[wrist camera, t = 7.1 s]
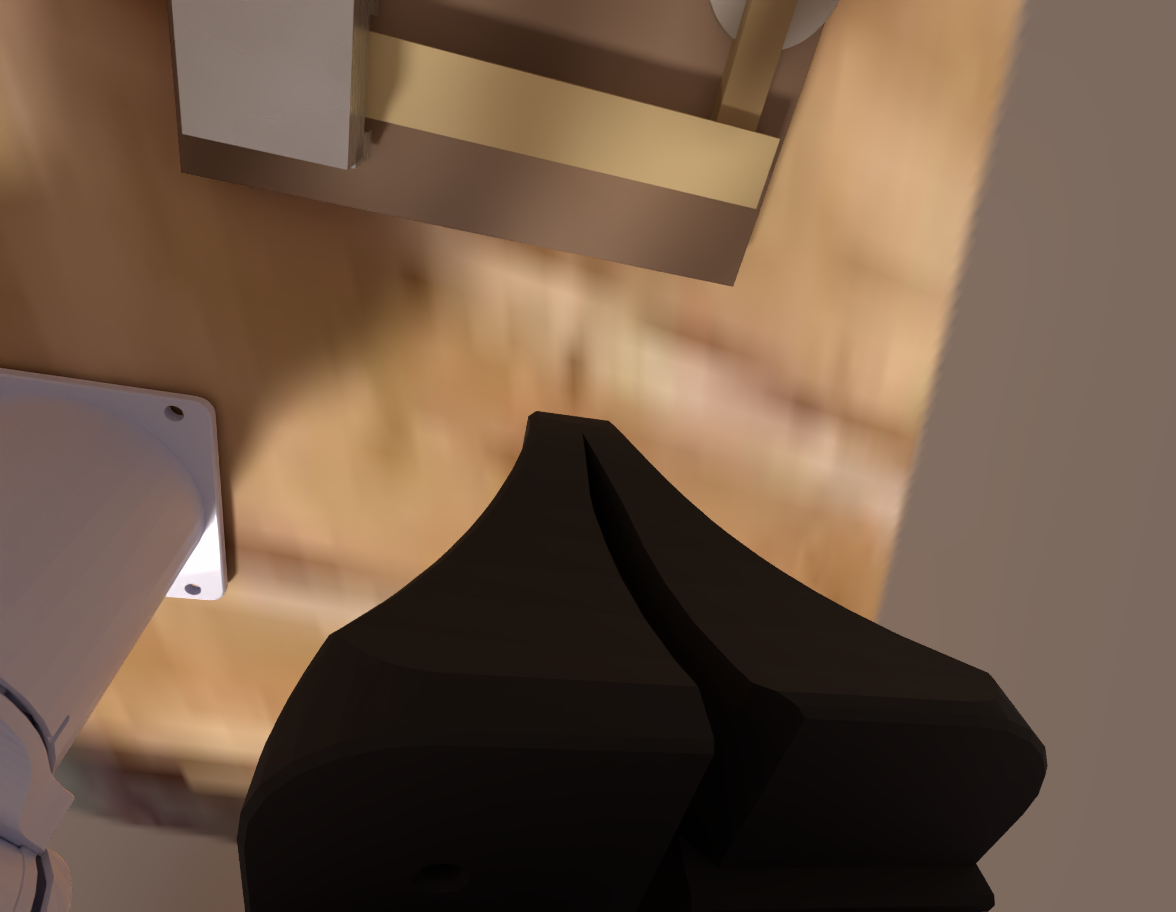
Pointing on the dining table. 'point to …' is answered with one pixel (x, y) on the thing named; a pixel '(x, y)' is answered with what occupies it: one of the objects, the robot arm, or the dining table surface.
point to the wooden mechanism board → (566, 124)
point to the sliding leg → (276, 75)
